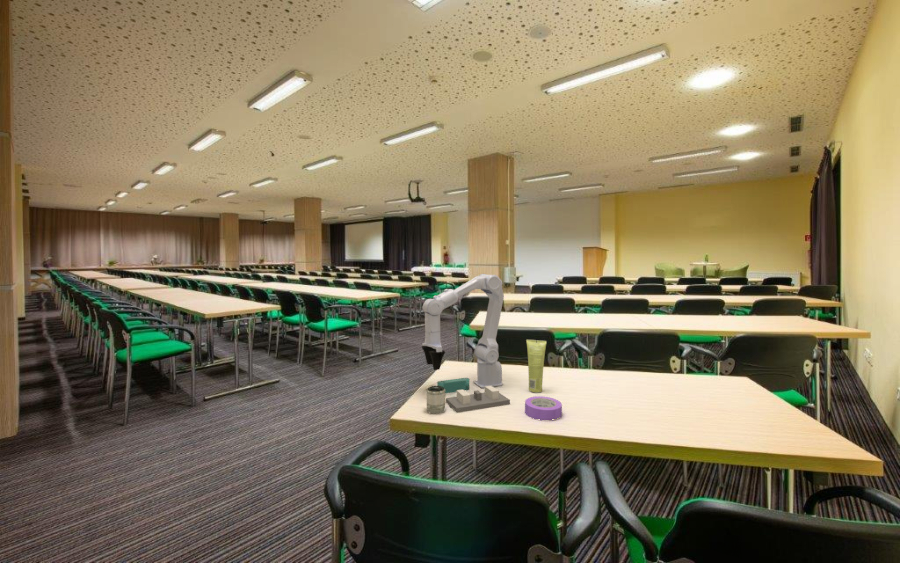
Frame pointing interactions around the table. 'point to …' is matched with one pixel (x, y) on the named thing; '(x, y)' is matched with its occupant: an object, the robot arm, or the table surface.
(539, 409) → the masking tape
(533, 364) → the tube
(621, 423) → the table surface
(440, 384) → the teal dome-capped pillar
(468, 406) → the display stand
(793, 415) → the table surface
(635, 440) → the table surface
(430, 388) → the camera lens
